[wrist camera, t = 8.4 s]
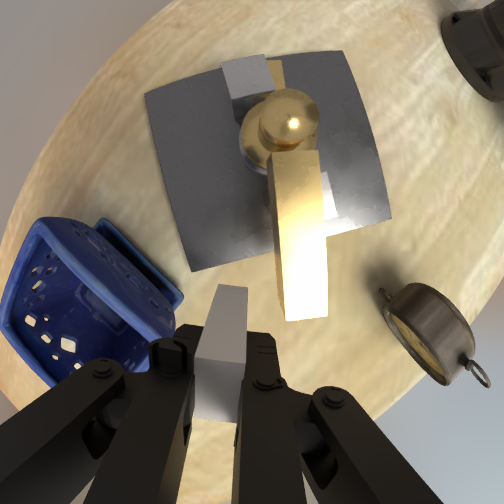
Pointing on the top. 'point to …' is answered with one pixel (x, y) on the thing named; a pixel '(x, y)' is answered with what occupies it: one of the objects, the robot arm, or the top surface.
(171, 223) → the top surface
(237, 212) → the socket
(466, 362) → the alarm clock
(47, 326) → the flower pot
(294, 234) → the lever handle
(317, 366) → the top surface
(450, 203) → the top surface
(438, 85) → the top surface
